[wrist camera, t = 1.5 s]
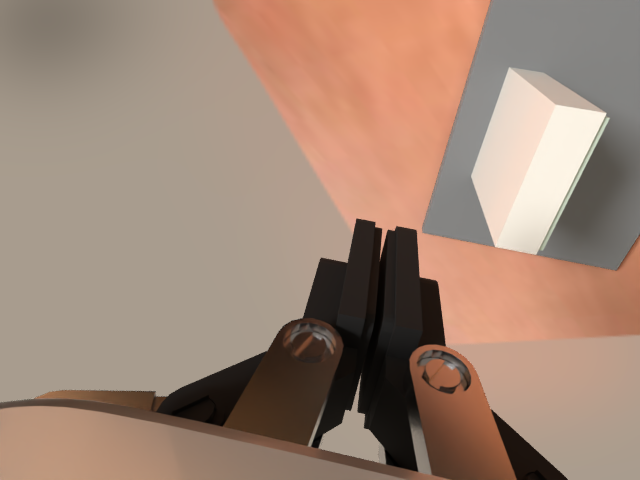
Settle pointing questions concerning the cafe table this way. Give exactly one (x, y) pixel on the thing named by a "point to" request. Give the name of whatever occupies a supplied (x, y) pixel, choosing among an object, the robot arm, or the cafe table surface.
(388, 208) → the cafe table surface
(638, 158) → the mat
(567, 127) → the tile
